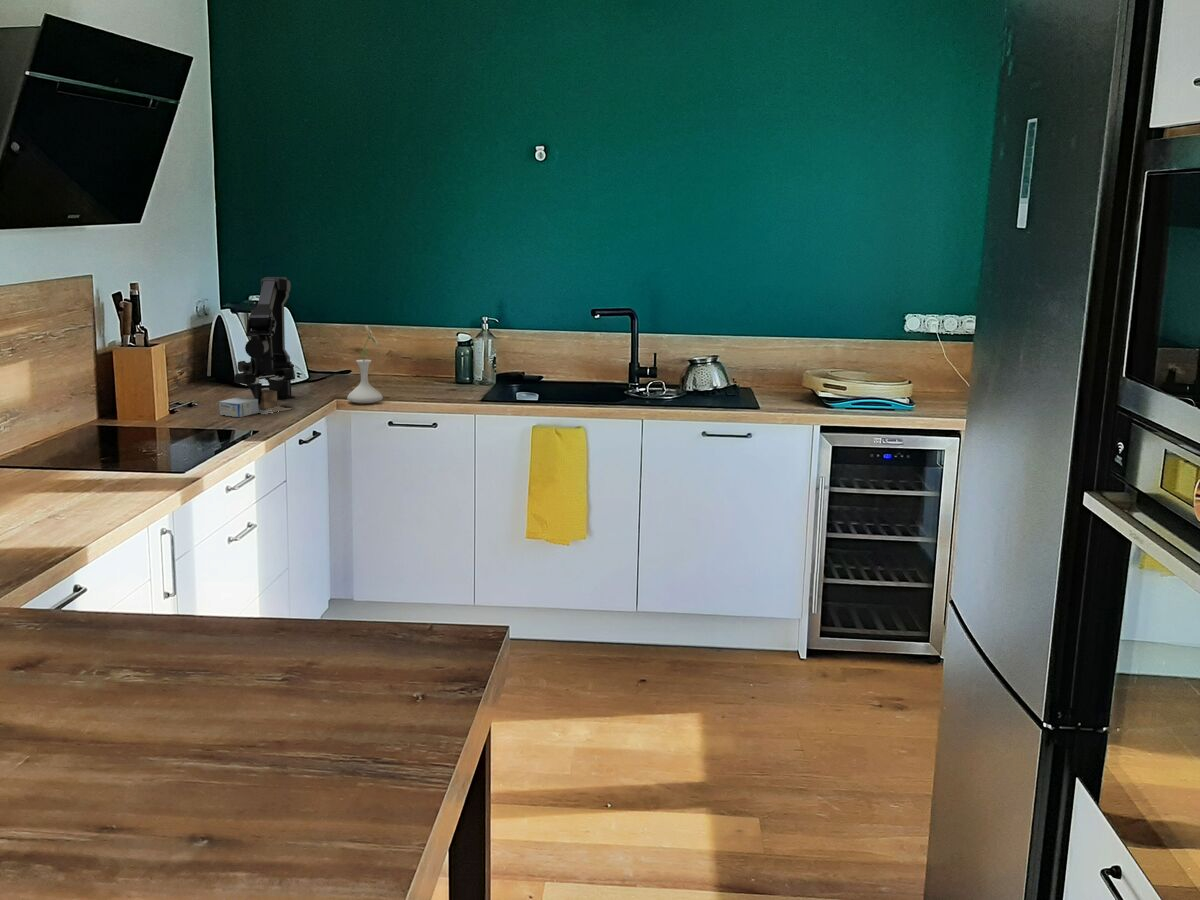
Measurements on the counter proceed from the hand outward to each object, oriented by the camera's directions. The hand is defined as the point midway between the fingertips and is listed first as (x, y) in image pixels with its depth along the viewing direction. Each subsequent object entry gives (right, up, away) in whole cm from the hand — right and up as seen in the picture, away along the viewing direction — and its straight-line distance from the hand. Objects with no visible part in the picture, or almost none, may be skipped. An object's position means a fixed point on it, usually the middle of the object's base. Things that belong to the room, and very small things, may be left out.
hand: (265, 403), depth 366 cm
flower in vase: (+29, +1, +15) cm, 32 cm away
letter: (0, -2, 0) cm, 2 cm away
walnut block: (0, -1, 0) cm, 1 cm away
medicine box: (-3, -1, -5) cm, 6 cm away
